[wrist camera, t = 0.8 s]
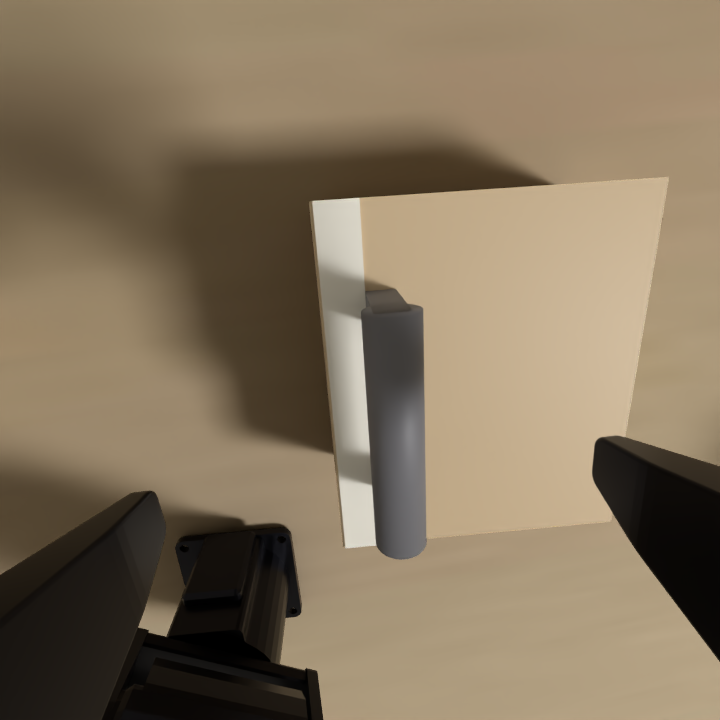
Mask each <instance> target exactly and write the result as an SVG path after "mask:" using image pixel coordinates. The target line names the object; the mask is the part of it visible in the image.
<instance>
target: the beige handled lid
mask: <svg viewBox="0 0 720 720" xmlns="http://www.w3.org/2000/svg"><path fill="white" fill-rule="evenodd" d="M668 181H669V177H661V178H646V179H631V180H616V181H601V182H587V183H572V184H557V185H542V186H527V187H513V188H498V189H483V190H468V191H453V192H439V193H424V194H409V195H394V196H379V197H365V198H349V199H334V200H319V201H309V207H310V217H311V227H312V237H313V248H314V258H315V268H316V278H317V288H318V298H319V309H320V319H321V329H322V339H323V349H324V359H325V369H326V380H327V390H328V400H329V410H330V420H331V430H332V441H333V451H334V461H335V471H336V481H337V491H338V502H339V512H340V522H341V532H342V542H343V547H345V548H354V547H365V546H376V545H377V547H378V549H379V550H380V551H381V552H382V553H383V554H384V555H386V556H388V557H390V558H394V559H409V558H413V557H415V556H417V555H419V554H420V553H421V552H422V551H423V550H424V548H425V546H426V542H427V539H431V538H441V537H452V536H463V535H473V534H484V533H495V532H506V531H516V530H527V529H538V528H548V527H559V526H570V525H580V524H591V523H602V522H611V519H612V511H611V510H610V508H609V506H608V505H607V503H606V501H605V500H604V498H603V497H602V495H601V493H600V492H599V490H598V488H597V487H596V485H595V483H594V481H593V477H592V465H593V455H594V445H595V442H596V440H597V439H598V438H600V437H606V436H614V435H618V436H622V437H625V436H626V430H627V424H628V418H629V412H630V406H631V401H632V395H633V389H634V383H635V377H636V371H637V365H638V359H639V353H640V347H641V341H642V335H643V329H644V323H645V317H646V311H647V305H648V300H649V294H650V288H651V282H652V276H653V270H654V264H655V258H656V252H657V246H658V240H659V234H660V228H661V222H662V216H663V210H664V205H665V199H666V193H667V187H668Z"/></svg>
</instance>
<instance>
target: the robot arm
mask: <svg viewBox="0 0 720 720" xmlns="http://www.w3.org/2000/svg"><path fill="white" fill-rule="evenodd" d="M592 477H593V481H594V483H595V485H596V487H597V488H598V490H599V492H600V493H601V495H602V497H603V498H604V500H605V501H606V503H607V505H608V506H609V508H610V510H611V511H612V513H613V514H614V516H615V518H616V519H617V521H618V523H619V524H620V526H621V527H622V529H623V531H624V532H625V534H626V536H627V537H628V539H629V540H630V542H631V543H632V545H633V546H634V548H635V549H636V551H637V552H638V554H639V555H640V556H641V558H642V559H643V561H644V562H645V563H646V565H647V566H648V567H649V569H650V570H651V571H652V573H653V574H654V575H655V577H656V578H657V579H658V581H659V582H660V583H661V585H662V586H663V587H664V588H665V590H666V591H667V592H668V594H669V595H670V596H671V598H672V599H673V600H674V602H675V603H676V604H677V606H678V607H679V608H680V610H681V611H682V612H683V614H684V615H685V616H686V618H687V619H688V620H689V622H690V623H691V624H692V626H693V627H694V628H695V630H696V631H697V632H698V634H699V635H700V636H701V637H702V639H703V640H704V641H705V643H706V644H707V645H708V647H709V648H710V649H711V651H712V652H713V653H714V655H715V656H716V657H717V659H718V660H719V661H720V466H717V465H713V464H710V463H707V462H704V461H700V460H697V459H694V458H691V457H687V456H684V455H681V454H678V453H674V452H671V451H668V450H665V449H661V448H658V447H655V446H652V445H648V444H645V443H642V442H639V441H635V440H632V439H629V438H626V437H622V436H618V435H614V436H606V437H600V438H598V439H597V440H596V442H595V445H594V455H593V465H592ZM165 535H166V524H165V520H164V517H163V514H162V510H161V507H160V504H159V500H158V497H157V495H156V494H155V492H153V491H142V492H134V493H131V494H129V495H127V496H126V497H124V498H123V499H121V500H119V501H118V502H116V503H115V504H113V505H111V506H110V507H108V508H107V509H105V510H103V511H102V512H100V513H99V514H97V515H95V516H94V517H92V518H91V519H89V520H87V521H86V522H84V523H83V524H81V525H79V526H78V527H76V528H75V529H73V530H71V531H70V532H68V533H67V534H65V535H63V536H62V537H60V538H59V539H57V540H55V541H54V542H52V543H51V544H49V545H47V546H46V547H44V548H43V549H41V550H39V551H38V552H36V553H35V554H33V555H31V556H30V557H28V558H27V559H25V560H23V561H22V562H20V563H19V564H17V565H15V566H14V567H12V568H11V569H9V570H7V571H6V572H4V573H3V574H1V575H0V720H323V714H322V706H321V698H320V690H319V682H318V674H317V671H315V670H311V669H307V668H306V669H305V670H302V669H297V668H293V667H289V666H285V665H281V664H280V659H281V651H282V642H283V634H284V626H285V618H289V617H296V616H298V615H300V613H301V608H302V603H301V596H300V589H299V582H298V576H297V569H296V562H295V556H294V549H293V542H292V535H291V532H290V531H289V530H288V529H286V528H273V529H262V530H251V531H240V532H229V533H218V534H207V535H196V536H185V537H181V538H180V539H179V540H178V542H177V544H176V547H175V550H176V554H177V557H178V561H179V565H180V569H181V572H182V576H183V580H184V583H185V590H184V592H183V595H182V598H181V601H180V603H179V606H178V608H177V611H176V613H175V616H174V618H173V621H172V624H171V626H170V629H169V631H168V634H167V636H166V637H165V636H161V635H156V634H152V633H148V632H149V630H146V629H142V628H138V626H139V623H140V620H141V618H142V615H143V612H144V609H145V606H146V603H147V600H148V596H149V593H150V589H151V586H152V582H153V579H154V575H155V571H156V568H157V564H158V561H159V557H160V554H161V550H162V547H163V543H164V539H165ZM280 536H284V537H285V538H280ZM183 545H186V546H188V547H185V546H183Z"/></svg>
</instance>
